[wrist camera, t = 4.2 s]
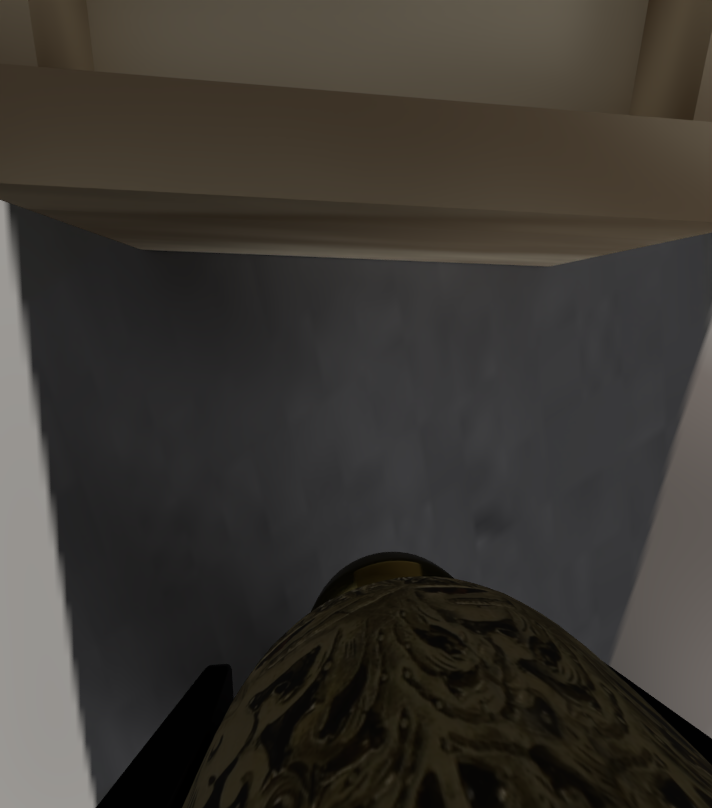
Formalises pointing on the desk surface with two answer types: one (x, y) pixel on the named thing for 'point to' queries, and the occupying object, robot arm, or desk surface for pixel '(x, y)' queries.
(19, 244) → the desk surface
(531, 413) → the desk surface
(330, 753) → the cup
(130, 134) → the wooden box
